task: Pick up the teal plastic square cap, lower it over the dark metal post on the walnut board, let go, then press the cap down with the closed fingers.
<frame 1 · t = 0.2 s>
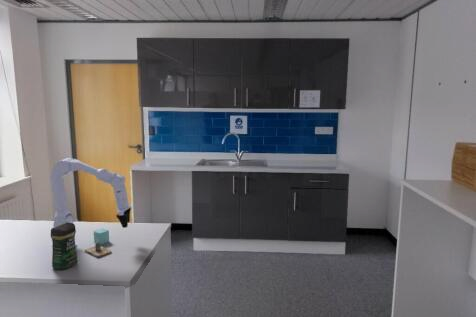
hand: (126, 224, 164), 10 cm above the countertop, tool pointing down, fingers open, 7 cm apart
post stand: (98, 252, 156), on the countertop
cap: (101, 241, 168), on the countertop
coffee jar: (65, 265, 142), on the countertop
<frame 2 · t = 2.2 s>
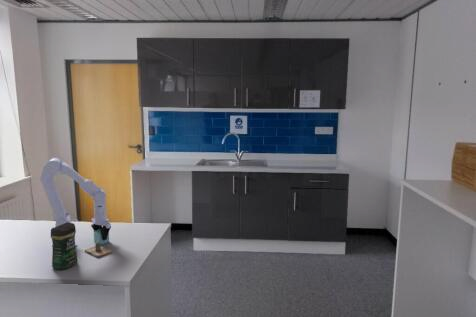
hand: (101, 238, 167), 2 cm above the countertop, tool pointing down, fingers closed on cap, 5 cm apart
cap: (101, 241, 168), on the countertop, touching gripper
everything else where it was.
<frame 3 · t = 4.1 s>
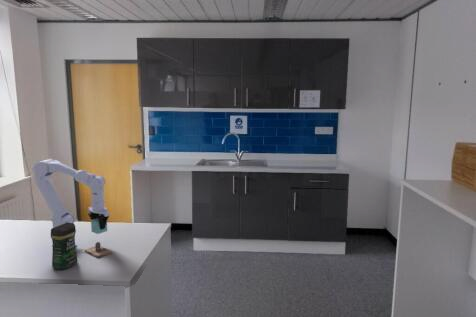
hand: (99, 227, 160), 10 cm above the countertop, tool pointing down, fingers closed on cap, 5 cm apart
cap: (99, 231, 161), point 8 cm above the countertop, touching gripper
everything else where it was.
when the fingers open (4 cm above the countertop, at t = 6.2 s): cap drops 1 cm, resting on post stand.
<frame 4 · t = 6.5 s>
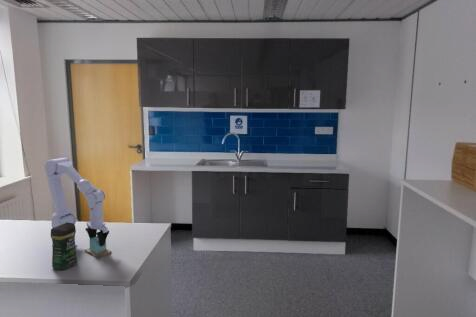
hand: (97, 243, 155), 4 cm above the countertop, tool pointing down, fingers open, 7 cm apart
cap: (98, 250, 155), point 1 cm above the countertop, touching post stand
everything else where it was.
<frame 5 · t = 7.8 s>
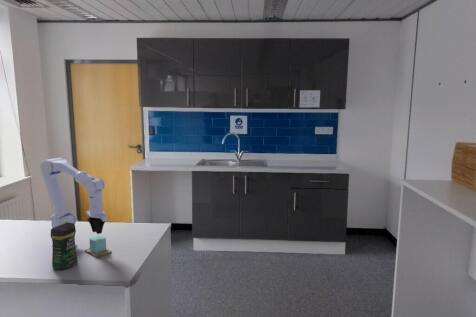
hand: (97, 232, 154), 10 cm above the countertop, tool pointing down, fingers open, 3 cm apart
nothing on the countertop moved.
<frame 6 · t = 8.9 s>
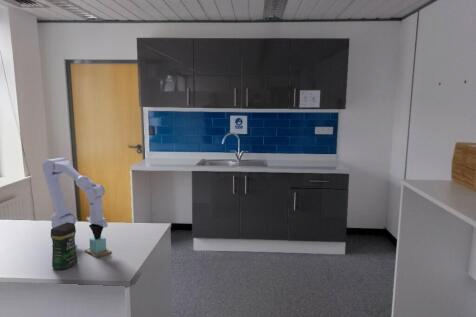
hand: (97, 238, 155), 7 cm above the countertop, tool pointing down, fingers closed, pressing on cap
cap: (98, 250, 155), point 1 cm above the countertop, touching gripper, post stand
everything else where it was.
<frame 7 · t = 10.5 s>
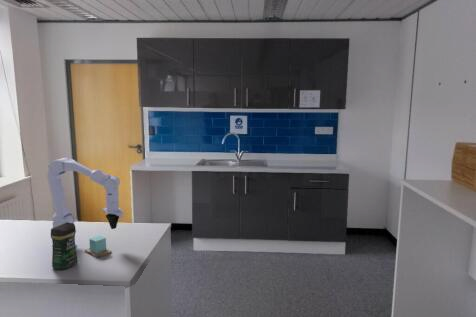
hand: (113, 228, 160), 10 cm above the countertop, tool pointing down, fingers closed
cap: (98, 250, 155), point 1 cm above the countertop, touching post stand
everything else where it was.
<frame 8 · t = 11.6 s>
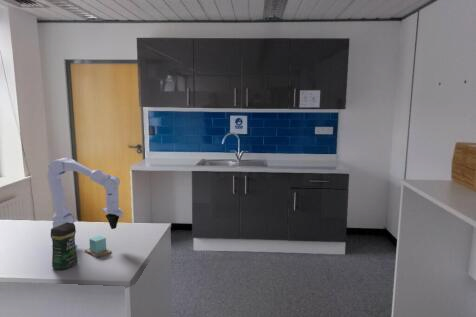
hand: (113, 228, 160), 10 cm above the countertop, tool pointing down, fingers closed
nothing on the countertop moved.
at the end: cap 0.1 cm from the post stand (horizontally); cap point 1.0 cm above the countertop; cap tilted 0° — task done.
